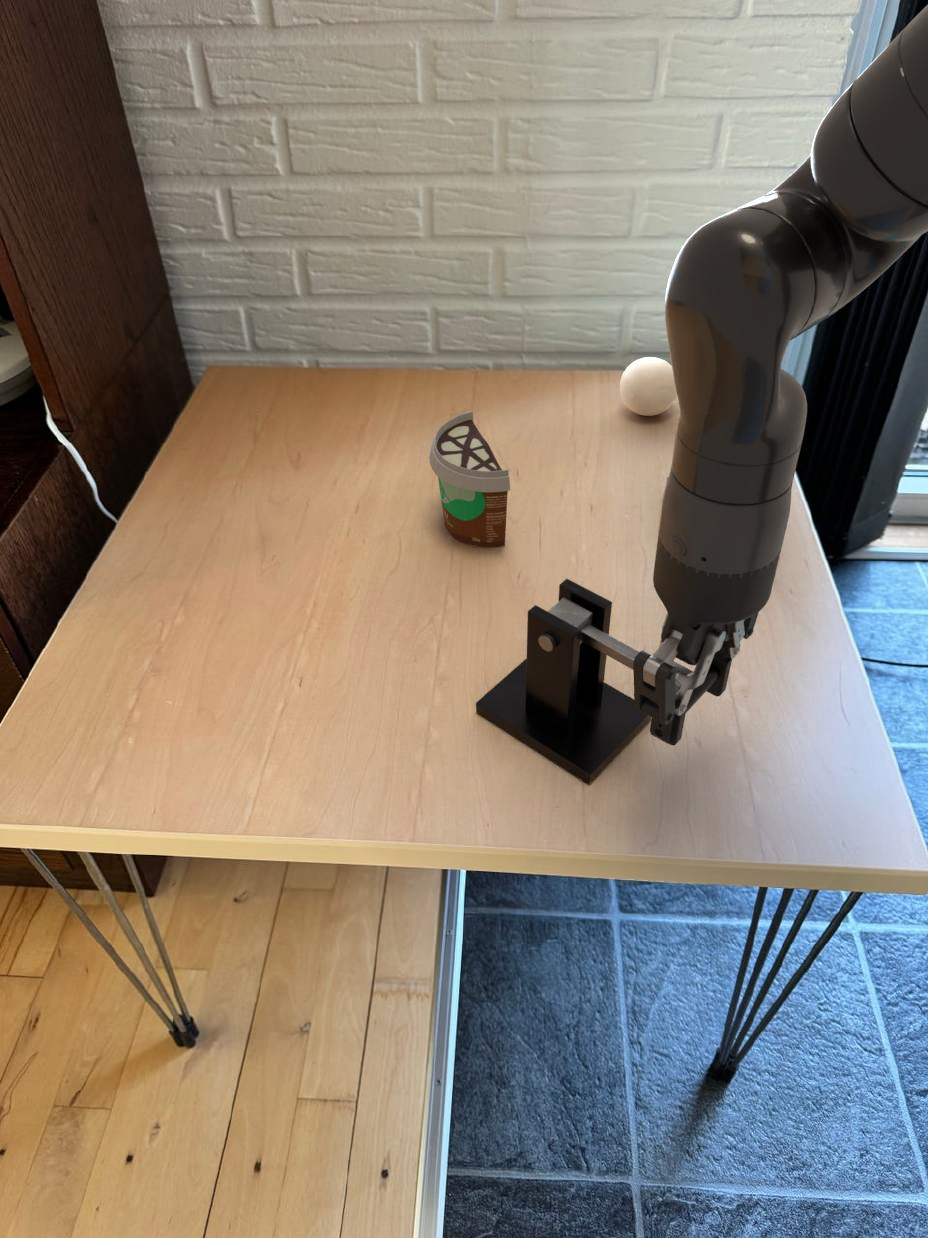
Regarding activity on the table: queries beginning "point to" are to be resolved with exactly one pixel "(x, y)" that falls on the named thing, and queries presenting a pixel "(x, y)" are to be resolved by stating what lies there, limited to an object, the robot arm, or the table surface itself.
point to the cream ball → (648, 386)
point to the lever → (617, 644)
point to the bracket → (565, 693)
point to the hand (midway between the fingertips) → (688, 711)
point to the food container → (470, 483)
